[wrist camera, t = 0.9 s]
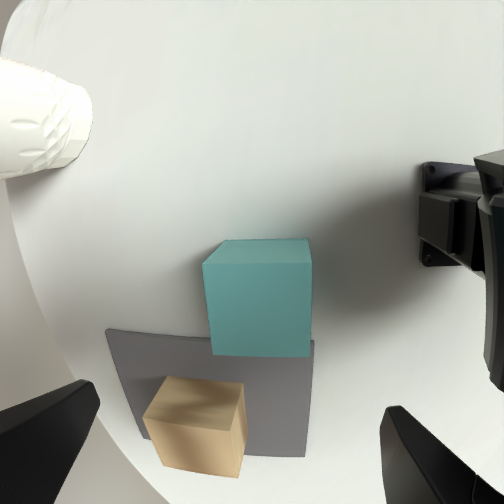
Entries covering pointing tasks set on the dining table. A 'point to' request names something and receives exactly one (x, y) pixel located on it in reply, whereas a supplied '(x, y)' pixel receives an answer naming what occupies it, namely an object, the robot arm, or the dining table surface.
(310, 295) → the teal cube
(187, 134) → the dining table surface
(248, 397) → the build board
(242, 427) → the oak base block
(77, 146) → the white cup
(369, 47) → the dining table surface
